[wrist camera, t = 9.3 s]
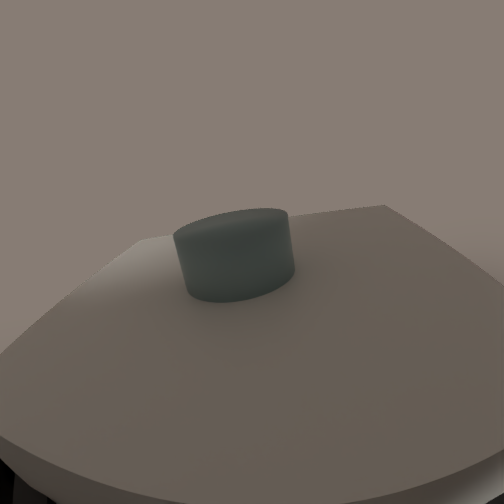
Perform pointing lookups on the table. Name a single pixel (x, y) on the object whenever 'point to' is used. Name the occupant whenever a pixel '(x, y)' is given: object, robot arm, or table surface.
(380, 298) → the dust cover
